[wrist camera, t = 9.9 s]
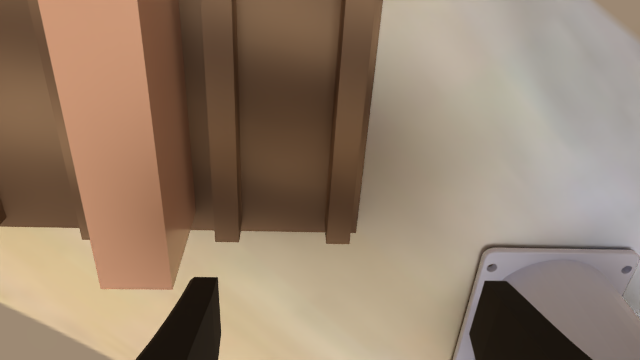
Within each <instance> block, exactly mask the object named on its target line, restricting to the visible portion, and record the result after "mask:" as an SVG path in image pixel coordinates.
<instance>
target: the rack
mask: <svg viewBox="0 0 640 360" xmlns="http://www.w3.org/2000/svg"><path fill="white" fill-rule="evenodd" d="M382 3H383V0H179V12H180V24H181V36H182V49H183V61H184V73H185V85H186V97H187V110H188V122H189V134H190V146H191V158H192V170H193V183H194V195H195V207H196V213H195V216H194V219H193V223H192V226H191V229H190V230H215V242H239V239H240V232H241V231H282V232H325V235H326V244H349V242H350V233H356V227H357V218H358V210H359V201H360V193H361V184H362V175H363V167H364V158H365V150H366V141H367V132H368V124H369V115H370V107H371V98H372V89H373V81H374V72H375V64H376V55H377V46H378V38H379V29H380V20H381V12H382ZM0 226H7V227H62V228H80V232H81V236H82V240H90V237H89V232H88V228H87V223H86V219H85V214H84V210H83V205H82V200H81V196H80V191H79V187H78V182H77V178H76V173H75V168H74V164H73V159H72V155H71V150H70V146H69V141H68V137H67V132H66V127H65V123H64V118H63V114H62V109H61V105H60V100H59V95H58V91H57V86H56V82H55V77H54V73H53V68H52V63H51V59H50V54H49V50H48V45H47V41H46V36H45V31H44V27H43V22H42V18H41V13H40V9H39V4H38V0H0Z"/></svg>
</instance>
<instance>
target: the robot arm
mask: <svg viewBox="0 0 640 360" xmlns="http://www.w3.org/2000/svg"><path fill="white" fill-rule="evenodd" d="M639 260H640V257H639V255H638V254H637V253H636V252H635V251H633V250H611V249H550V248H490V249H487V250H486V251H485V252H484V253H483V255H482V258H481V261H480V265H479V268H478V272H477V275H476V279H475V282H474V286H473V289H472V293H471V296H470V300H469V304H468V307H467V311H466V314H465V318H464V321H463V325H462V328H461V332H460V335H459V339H458V342H457V346H456V350H455V353H454V357H453V360H640V319H639V318H638V316H637V315H636V314H635V313H634V311H633V310H632V309H631V308H630V306H629V305H628V304H627V303H626V301H625V300H624V299H623V298H622V296H623V294H624V292H625V289H626V287H627V285H628V283H629V281H630V279H631V277H632V275H633V273H634V271H635V269H636V267H637V265H638V263H639ZM490 264H493V265H492V266H490V267H488V266H489V265H490ZM625 266H626V267H625ZM623 267H624V268H623ZM220 338H221V323H220V307H219V290H218V277H194V278H193V279H191V280H190V282H189V284H188V285H187V287H186V289H185V291H184V292H183V294H182V296H181V297H180V299H179V301H178V302H177V304H176V305H175V307H174V308H173V310H172V311H171V313H170V314H169V316H168V317H167V319H166V320H165V322H164V323H163V324H162V326H161V327H160V329H159V330H158V331H157V333H156V334H155V335H154V337H153V338H152V340H151V341H150V342H149V343H148V345H147V346H146V347H145V348H144V350H143V351H142V352H141V353H140V355H139V356H138V357H137V358H136V360H218V356H219V347H220Z"/></svg>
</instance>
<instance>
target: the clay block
mask: <svg viewBox="0 0 640 360" xmlns="http://www.w3.org/2000/svg"><path fill="white" fill-rule="evenodd" d="M38 4H39V9H40V13H41V18H42V22H43V27H44V31H45V36H46V41H47V45H48V50H49V54H50V59H51V63H52V68H53V73H54V77H55V82H56V86H57V91H58V95H59V100H60V105H61V109H62V114H63V118H64V123H65V127H66V132H67V137H68V141H69V146H70V150H71V155H72V159H73V164H74V168H75V173H76V178H77V182H78V187H79V191H80V196H81V200H82V205H83V210H84V214H85V219H86V223H87V228H88V232H89V237H90V242H91V246H92V251H93V255H94V260H95V264H96V269H97V274H98V278H99V283H100V287H101V289H167V290H173V286H174V283H175V280H176V276H177V273H178V270H179V266H180V263H181V259H182V256H183V253H184V249H185V246H186V243H187V239H188V236H189V233H190V229H191V226H192V223H193V219H194V216H195V213H196V207H195V195H194V183H193V170H192V158H191V146H190V134H189V122H188V110H187V97H186V85H185V73H184V61H183V49H182V36H181V24H180V12H179V0H38Z"/></svg>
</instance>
